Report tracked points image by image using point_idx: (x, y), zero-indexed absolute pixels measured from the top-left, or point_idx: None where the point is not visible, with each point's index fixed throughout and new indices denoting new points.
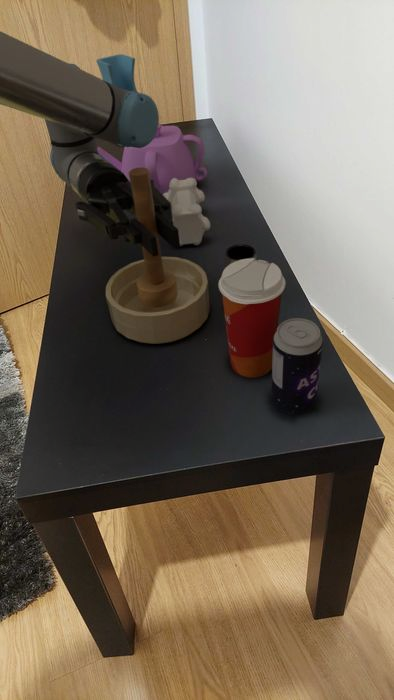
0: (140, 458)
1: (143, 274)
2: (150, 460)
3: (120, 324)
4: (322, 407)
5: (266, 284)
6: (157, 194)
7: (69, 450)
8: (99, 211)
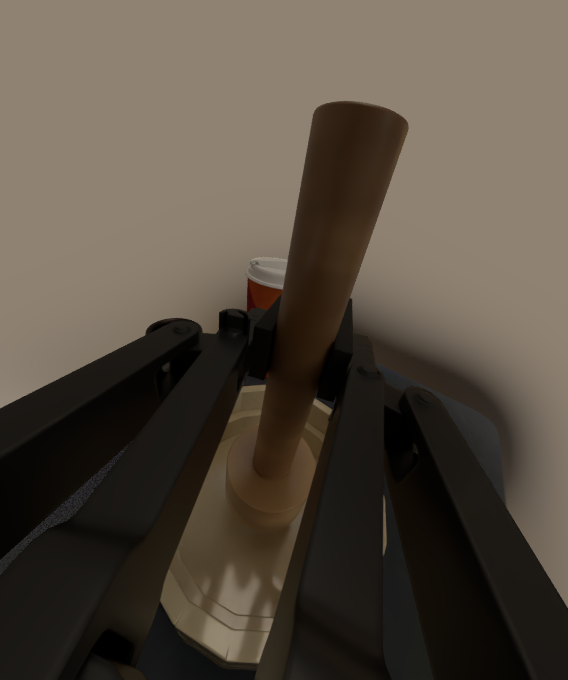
0: (395, 379)
1: (274, 507)
2: (389, 374)
3: None
4: None
5: (286, 260)
6: (74, 389)
7: (454, 421)
8: (496, 569)
